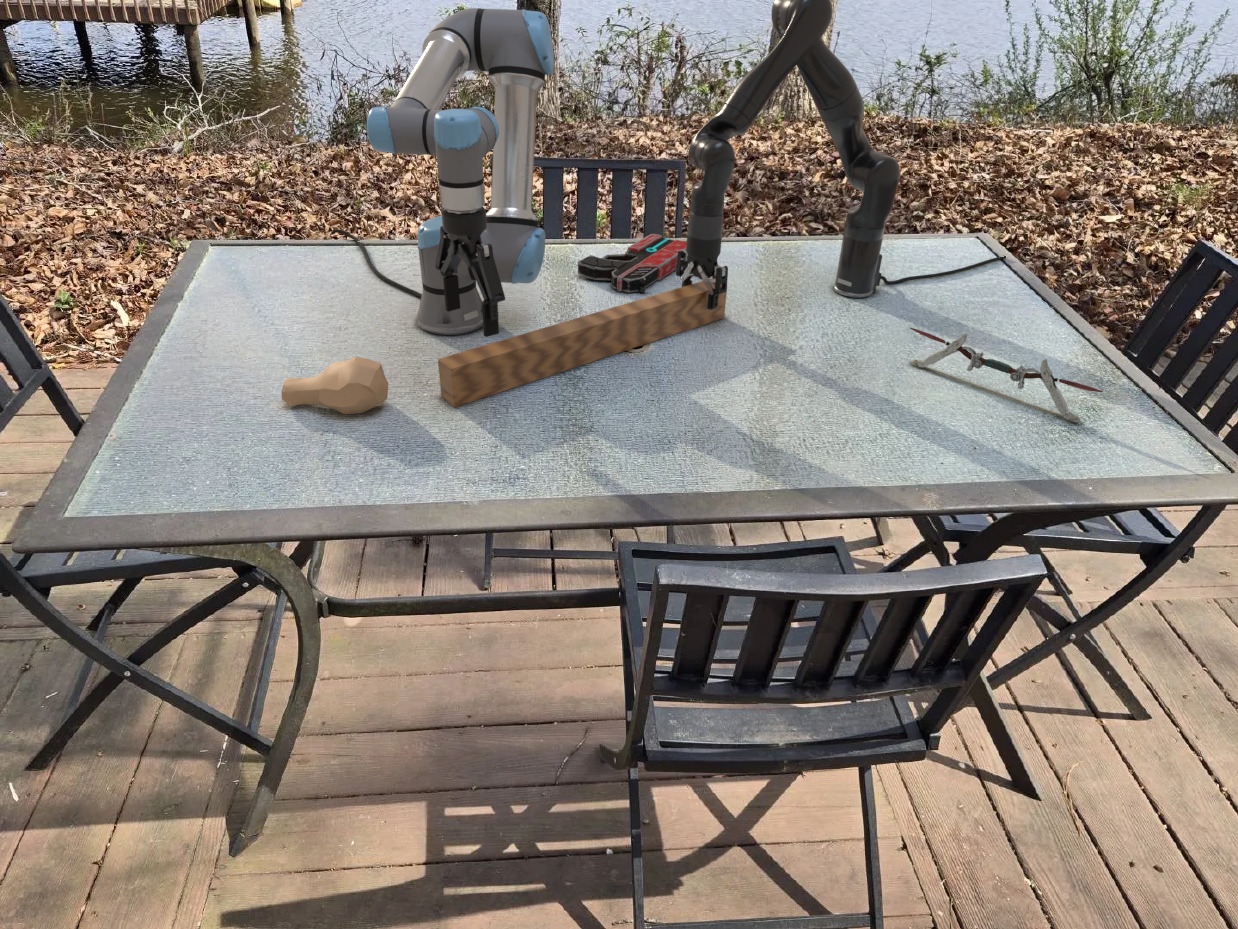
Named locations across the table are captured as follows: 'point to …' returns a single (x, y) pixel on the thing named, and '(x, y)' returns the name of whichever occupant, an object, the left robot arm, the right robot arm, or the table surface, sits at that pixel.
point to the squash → (341, 387)
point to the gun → (635, 264)
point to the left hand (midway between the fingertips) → (471, 321)
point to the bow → (1015, 375)
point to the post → (574, 343)
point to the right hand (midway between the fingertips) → (698, 302)
